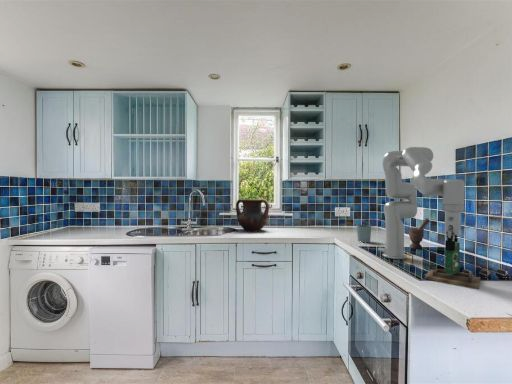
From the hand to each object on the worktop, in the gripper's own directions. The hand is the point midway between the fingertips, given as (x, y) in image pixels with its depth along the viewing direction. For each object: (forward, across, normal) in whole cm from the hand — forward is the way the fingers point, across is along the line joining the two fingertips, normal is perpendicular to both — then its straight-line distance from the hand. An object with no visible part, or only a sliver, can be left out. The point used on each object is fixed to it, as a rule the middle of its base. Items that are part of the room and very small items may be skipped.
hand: (451, 248), depth 119 cm
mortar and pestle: (+15, +64, +24) cm, 70 cm away
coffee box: (+11, -1, -1) cm, 11 cm away
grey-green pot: (+16, +62, +59) cm, 87 cm away
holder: (+13, -1, -1) cm, 13 cm away
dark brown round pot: (+18, +48, +157) cm, 165 cm away
